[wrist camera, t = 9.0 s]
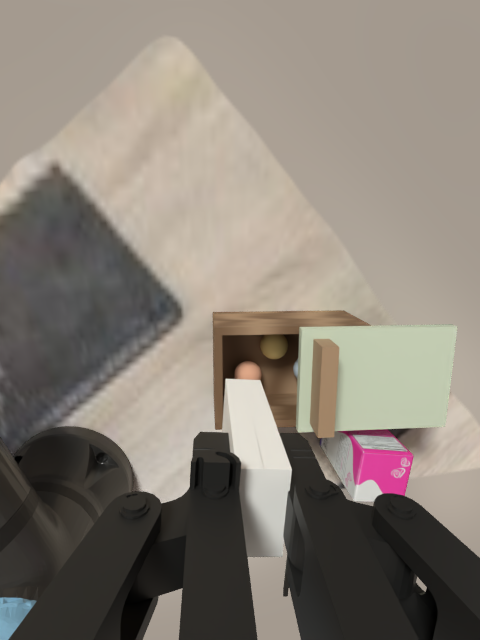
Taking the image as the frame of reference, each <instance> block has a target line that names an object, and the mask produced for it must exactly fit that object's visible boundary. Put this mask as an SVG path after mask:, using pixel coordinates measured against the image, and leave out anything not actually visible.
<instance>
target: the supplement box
mask: <svg viewBox="0 0 480 640" xmlns="http://www.w3.org/2000/svg"><path fill="white" fill-rule="evenodd" d="M320 446H321V448H322V449H323V451H324V453H325V454H326V456H327V458H328V459H329V461H330V463H331V464H332V466H333V468H334V469H335V471H336V473H337V474H338V476H339V478H340V479H341V481H342V483H343V484H344V486H345V488H346V489H347V491H348V493H349V494H350V496H351V498H352V499H353V501H359V502H374V500H375V499H376V497H377V496H378V495H381V494H384V493H394V494H400V495H403V496H405V491H406V487H407V483H408V478H409V474H410V470H411V465H412V461H413V454H412V453H411V452H410V451H409V450H408V449H407V448H406V447H405V446H404V445H403V444H402V443H401V442H400V441H399V440H398V439H397V438H396V437H395V436H394V435H393V434H392V433H391V432H390V431H389V430H388V429H377V430H351V431H335V432H334V437H329V438H321V440H320Z"/></svg>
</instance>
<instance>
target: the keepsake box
mask: <svg viewBox="0 0 480 640" xmlns="http://www.w3.org/2000/svg"><path fill="white" fill-rule="evenodd" d="M327 326H371V325H370V324H368V323H366V322H364V321H362V320H360V319H358V318H357V317H355V316H353V315H351V314H349V313H347V312H345V311H274V312H213V367H214V412H215V430H220V429H222V424H223V409H224V395H225V380H226V379H235V375H234V374H235V370H236V367H237V366H238V365H239V364H240V363H242V362H244V361H252V362H254V363H256V364H257V365H258V366H259V367H260V369H261V372H262V377H261V384H262V386H263V389H264V392H265V395H266V398H267V401H268V403H269V406H270V409H271V412H272V415H273V418H274V420H275V423H276V426H277V427H296V408H297V381H298V379H297V378H296V376H295V374H294V371H293V367H294V363H295V362H296V360H297V359H298V353H299V327H327ZM270 334H282V335H284V336H285V338H286V339H287V342H288V349H287V352H286V353H285V355H284V356H282V357H281V358H279V359H270V358H267V357H266V356H265V355H264V354H263V353H262V351H261V348H260V343H261V340H262V338H263V336H264V335H270Z"/></svg>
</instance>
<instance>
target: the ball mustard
mask: <svg viewBox="0 0 480 640" xmlns="http://www.w3.org/2000/svg"><path fill="white" fill-rule="evenodd" d="M260 348H261V351H262V353H263V354H264V355H265V356H266V357H267V358H270V359H279V358H281V357H282V356H284V355H285V353H286V352H287V349H288V342H287V339H286V338H285V336H284V335H282V334H270V335H264V336H263V338H262V340H261V343H260Z"/></svg>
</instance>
